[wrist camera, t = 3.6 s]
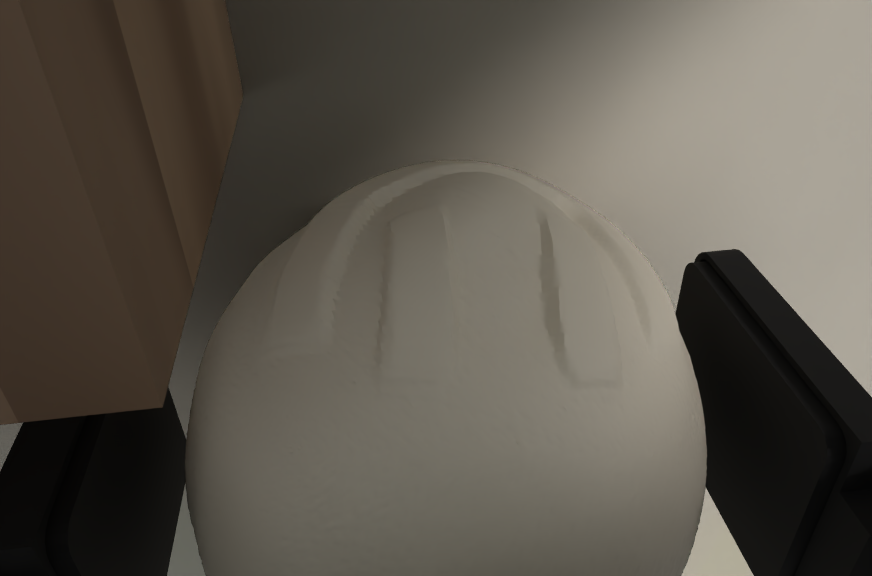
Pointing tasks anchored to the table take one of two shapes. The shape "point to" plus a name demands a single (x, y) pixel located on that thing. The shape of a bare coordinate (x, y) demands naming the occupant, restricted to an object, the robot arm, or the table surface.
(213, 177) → the walnut block
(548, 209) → the steamed bun
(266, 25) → the table surface
